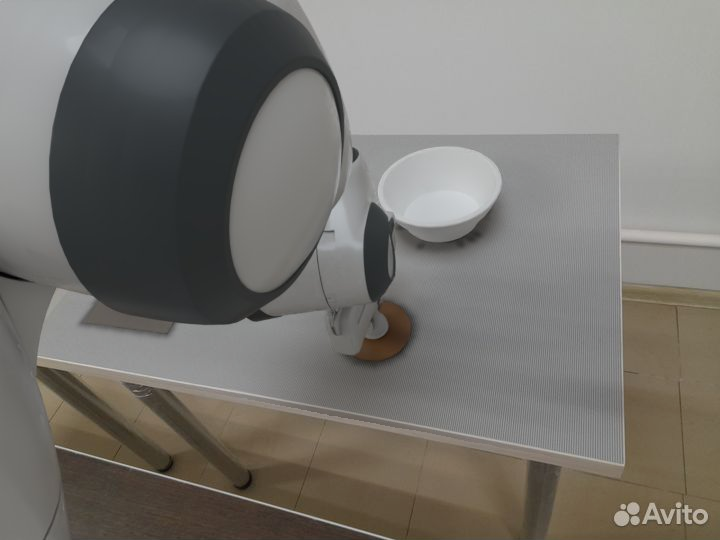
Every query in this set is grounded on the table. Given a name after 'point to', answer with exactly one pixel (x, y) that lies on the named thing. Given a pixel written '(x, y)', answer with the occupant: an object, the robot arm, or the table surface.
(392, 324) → the coaster
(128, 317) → the platform
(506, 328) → the table surface
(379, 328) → the rook chess piece
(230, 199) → the robot arm
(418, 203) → the bowl
